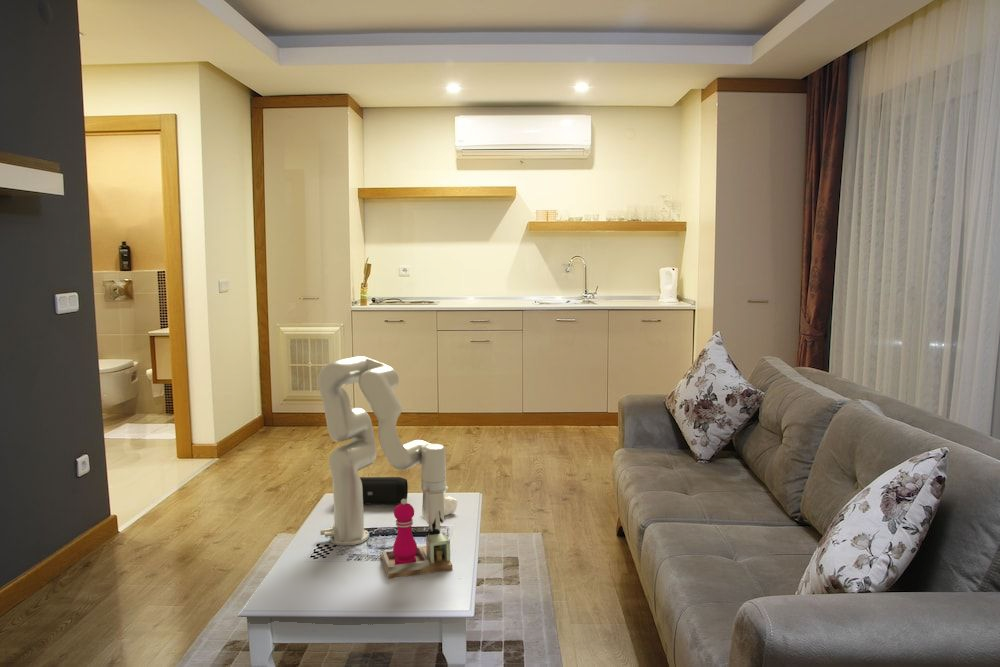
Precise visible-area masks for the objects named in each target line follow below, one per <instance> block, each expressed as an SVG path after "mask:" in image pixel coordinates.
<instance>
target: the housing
mask: <svg viewBox="0 0 1000 667" xmlns="http://www.w3.org/2000/svg"><path fill="white" fill-rule="evenodd" d="M425 544H426V545H425V546H426V554H427V557H428V559H429V561H430V563H431V564H432V563H434V546H439V547H440V549H441V550H442V554H443V555H444V557H445V559H446V560H447V561H451V540H450V539H449V537H448V535H447V534H446V532H443V533H440V534H434V535H429V534H428V535H425Z"/></svg>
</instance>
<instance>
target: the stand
mask: <svg viewBox="0 0 1000 667" xmlns="http://www.w3.org/2000/svg"><path fill="white" fill-rule="evenodd" d="M379 553H380V559H381V562H382V565H383V568H384V570H385V572H386V575H387V577H388V580H389V579H391V580H392V579H397V578H404V577H410V576H411V577H412V576H417V575H423V574H424V575H425V574H430V573H435V572H436V573H437V572H444V571H450V570H451V571H452V570H453V563H452V561H451V560H450V561H447V560H446V559H445V557H444V555H443V554H442V550H441V549H440V547H439V546H434V563H432V564H431V563H430V561H429V559H428V557H427V554H426V545H423V546H421V545H417V553H416V554H415V555H414V556H415V557H416V562H412V563H405V564H398V565H395V558H396V556H395V555H394V553H393V549H388V550H382V551H381V552H379Z"/></svg>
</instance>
